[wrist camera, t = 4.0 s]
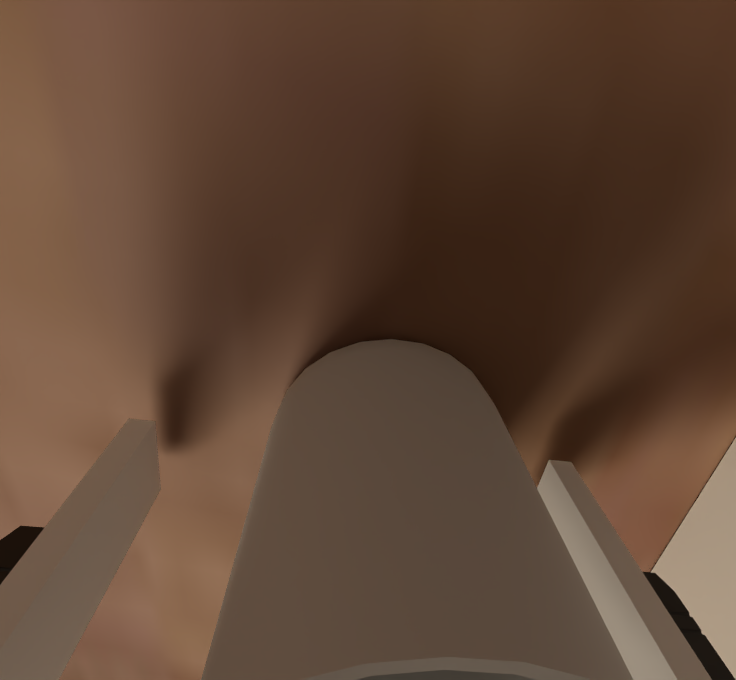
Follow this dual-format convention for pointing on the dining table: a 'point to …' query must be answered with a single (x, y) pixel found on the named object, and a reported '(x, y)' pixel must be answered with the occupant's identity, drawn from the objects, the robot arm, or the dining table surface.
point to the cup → (401, 539)
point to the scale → (708, 560)
